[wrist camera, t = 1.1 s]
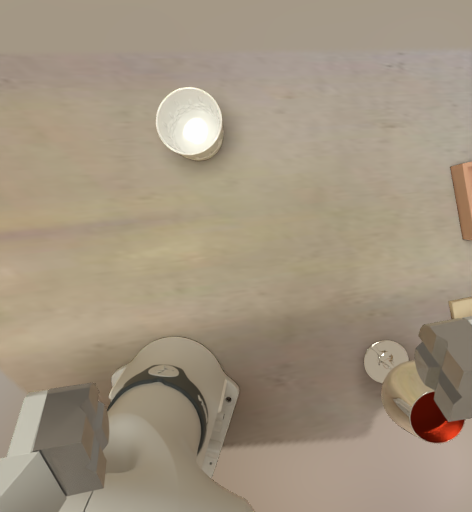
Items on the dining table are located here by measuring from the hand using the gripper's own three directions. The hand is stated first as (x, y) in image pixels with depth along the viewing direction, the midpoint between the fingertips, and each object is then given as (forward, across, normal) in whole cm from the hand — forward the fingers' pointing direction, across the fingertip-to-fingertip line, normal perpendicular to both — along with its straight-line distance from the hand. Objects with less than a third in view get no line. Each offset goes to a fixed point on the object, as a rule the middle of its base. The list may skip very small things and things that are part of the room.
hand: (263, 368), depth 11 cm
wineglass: (+33, +23, -42) cm, 58 cm away
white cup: (+54, +1, -12) cm, 55 cm away
